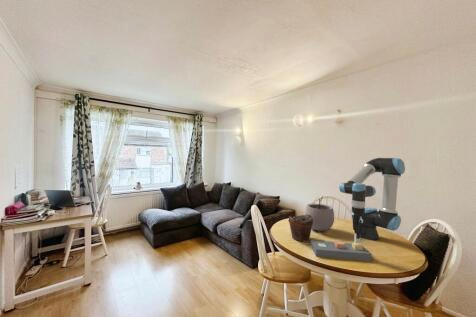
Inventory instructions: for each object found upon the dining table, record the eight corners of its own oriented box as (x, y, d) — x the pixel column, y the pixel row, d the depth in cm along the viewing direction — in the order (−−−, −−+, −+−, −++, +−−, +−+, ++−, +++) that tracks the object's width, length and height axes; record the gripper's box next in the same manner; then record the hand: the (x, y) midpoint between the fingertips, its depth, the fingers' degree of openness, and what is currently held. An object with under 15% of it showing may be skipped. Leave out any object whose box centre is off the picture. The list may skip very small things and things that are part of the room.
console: (360, 250, 139) (361, 244, 139) (371, 261, 125) (371, 253, 125) (311, 246, 144) (311, 240, 144) (315, 256, 130) (316, 249, 130)
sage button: (324, 248, 138) (324, 243, 138) (326, 252, 133) (326, 246, 133) (317, 248, 139) (317, 243, 139) (319, 251, 134) (319, 246, 134)
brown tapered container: (283, 238, 158) (283, 215, 157) (296, 231, 172) (296, 210, 171) (304, 245, 145) (305, 220, 145) (316, 238, 159) (317, 215, 159)
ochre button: (359, 248, 135) (359, 242, 135) (362, 251, 130) (362, 245, 130) (351, 247, 136) (351, 242, 136) (354, 250, 131) (354, 245, 131)
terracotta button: (341, 246, 136) (342, 241, 136) (344, 249, 132) (344, 244, 132) (334, 246, 137) (334, 240, 137) (336, 249, 132) (336, 243, 132)
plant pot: (304, 232, 171) (305, 197, 170) (304, 223, 193) (305, 192, 193) (335, 236, 163) (336, 199, 163) (332, 227, 186) (333, 194, 186)
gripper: (348, 204, 140) (347, 238, 140) (356, 209, 127) (355, 246, 127) (359, 205, 138) (358, 239, 139) (369, 209, 126) (368, 247, 126)
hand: (357, 242), depth 133 cm, fingers closed
